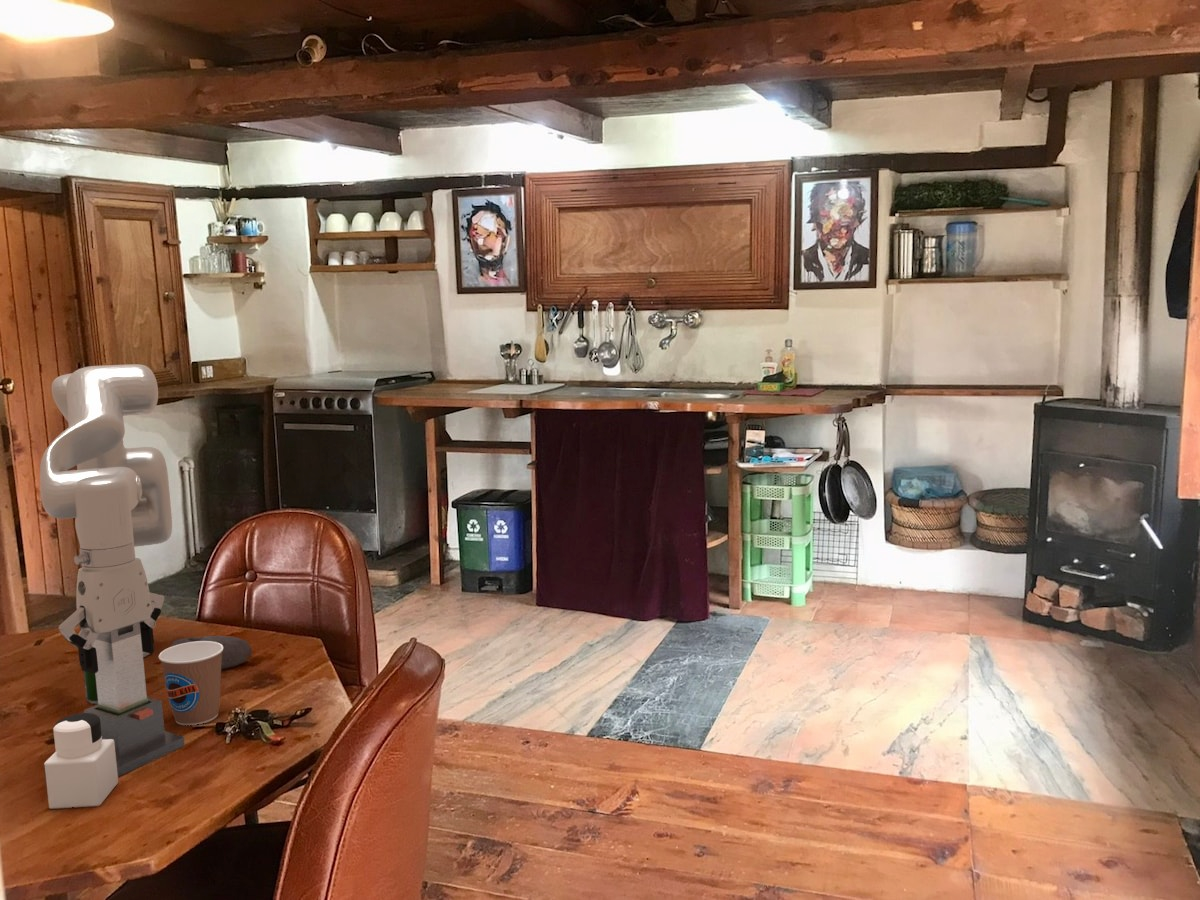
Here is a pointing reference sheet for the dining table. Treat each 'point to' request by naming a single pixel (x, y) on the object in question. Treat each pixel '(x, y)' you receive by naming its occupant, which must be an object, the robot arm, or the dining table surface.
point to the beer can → (91, 687)
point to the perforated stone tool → (225, 649)
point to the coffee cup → (193, 680)
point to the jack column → (120, 671)
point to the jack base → (137, 735)
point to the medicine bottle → (80, 763)
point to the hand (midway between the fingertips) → (118, 661)
